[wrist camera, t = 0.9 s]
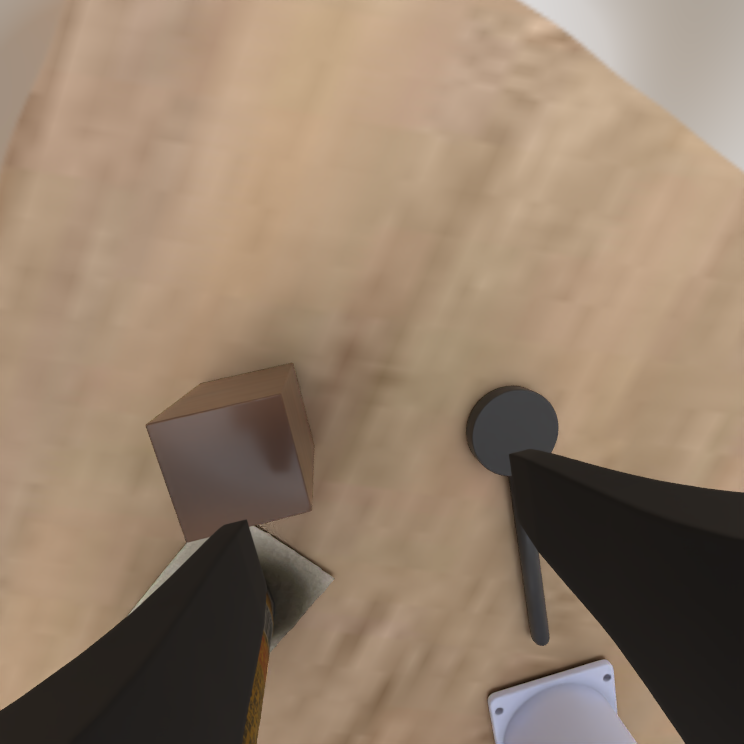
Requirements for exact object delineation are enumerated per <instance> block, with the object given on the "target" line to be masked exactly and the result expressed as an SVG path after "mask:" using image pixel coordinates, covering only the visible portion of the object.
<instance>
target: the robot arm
mask: <svg viewBox="0 0 744 744" xmlns="http://www.w3.org/2000/svg"><path fill="white" fill-rule="evenodd" d="M509 459H510V466H511V474H512V481H513V489H514V496H515V504H516V512H517V519H518V521H519V523H520V524H521V526H522V528H523V529H524V531H525V532H526V534H527V535H528V537H529V539H530V540H531V541H532V543H533V544H534V546H535V547H536V549H537V550H538V552H539V553H540V554H541V555H542V557H543V558H544V559H545V560H546V561H547V563H548V564H549V565H550V566H551V567H552V568H553V570H554V571H555V572H556V573H557V574H558V575H559V577H560V578H561V579H562V580H563V581H564V582H565V584H566V585H567V586H568V587H569V588H570V589H571V591H572V592H573V593H574V594H575V595H576V596H577V598H578V599H579V600H580V601H581V602H582V603H583V604H584V606H585V607H586V608H587V609H588V610H589V611H590V613H591V614H592V615H593V616H594V617H595V618H596V620H597V621H598V622H599V623H600V624H601V626H602V627H603V628H604V629H605V631H606V632H607V633H608V634H609V636H610V637H611V638H612V639H613V641H614V642H615V643H616V645H617V646H618V647H619V649H620V650H621V652H622V653H623V654H624V656H625V657H626V659H627V660H628V661H629V663H630V664H631V666H632V667H633V668H634V670H635V671H636V673H637V674H638V675H639V677H640V678H641V680H642V681H643V682H644V684H645V685H646V687H647V688H648V689H649V691H650V692H651V694H652V695H653V697H654V698H655V700H656V701H657V703H658V704H659V706H660V707H661V708H662V710H663V711H664V713H665V714H666V716H667V717H668V719H669V720H670V722H671V723H672V724H673V726H674V727H675V729H676V730H677V732H678V733H679V735H680V736H681V738H682V739H683V741H684V742H685V744H744V493H742V492H732V491H723V490H715V489H707V488H700V487H694V486H688V485H682V484H676V483H670V482H664V481H659V480H654V479H649V478H645V477H640V476H636V475H632V474H627V473H623V472H619V471H615V470H611V469H607V468H603V467H599V466H596V465H592V464H588V463H585V462H581V461H578V460H574V459H570V458H567V457H563V456H560V455H556V454H552V453H548V452H544V451H540V450H534V449H527V450H523V451H519V452H515V453H511V454H509ZM266 593H267V585H266V581H265V578H264V575H263V571H262V568H261V565H260V561H259V558H258V555H257V551H256V548H255V545H254V541H253V538H252V535H251V531H250V528H249V525H248V521H247V519H246V520H242V521H238V522H233V523H229V524H225V525H223V526H222V527H220V528H219V529H218V530H217V531H216V532H215V533H214V534H213V535H211V536H210V537H209V538H208V539H207V540H206V541H205V542H204V543H203V544H202V545H201V546H200V547H199V548H198V549H197V550H196V551H195V552H194V553H193V554H192V555H191V556H190V557H189V558H188V559H187V560H186V561H185V562H184V563H183V564H182V565H181V566H180V567H179V568H178V569H177V570H176V571H175V572H174V573H173V574H172V575H171V576H170V577H169V578H168V579H167V580H166V581H165V582H164V583H163V584H162V585H161V586H160V587H159V588H158V589H156V590H155V591H154V592H153V593H152V594H151V595H150V596H149V597H148V598H147V599H146V600H145V601H144V602H142V603H141V604H140V605H139V606H138V607H137V608H136V609H135V610H134V611H133V612H132V613H130V614H129V615H128V616H127V617H126V618H125V619H123V620H122V621H121V622H120V623H119V624H118V625H116V626H115V627H114V628H113V629H112V630H110V631H109V632H108V633H107V634H105V635H104V636H103V637H102V638H100V639H99V640H98V641H97V642H95V643H94V644H93V645H92V646H90V647H89V648H88V649H87V650H85V651H84V652H83V653H81V654H80V655H79V656H78V657H76V658H75V659H73V660H72V661H71V662H69V663H68V664H66V665H65V666H64V667H62V668H61V669H60V670H58V671H57V672H55V673H54V674H53V675H51V676H50V677H48V678H47V679H46V680H44V681H43V682H41V683H40V684H39V685H37V686H36V687H34V688H33V689H32V690H30V691H29V692H28V693H26V694H25V695H23V696H22V697H20V698H19V699H17V700H16V701H15V702H13V703H12V704H10V705H8V706H7V707H5V708H4V709H2V710H1V711H0V744H242V742H243V736H244V729H245V724H246V719H247V713H248V708H249V703H250V698H251V693H252V688H253V683H254V678H255V672H256V667H257V662H258V657H259V652H260V646H261V641H262V636H263V630H264V623H265V610H266ZM488 706H489V712H490V717H491V723H492V729H493V734H494V740H495V744H638V743H637V742H636V741H635V739H634V738H633V736H632V735H631V734H630V732H629V731H628V729H627V728H626V726H625V725H624V724H623V722H622V721H621V719H620V718H619V717H618V715H617V704H616V692H615V681H614V670H613V666H612V665H611V663H610V662H609V661H608V660H605V659H602V660H599V661H595V662H592V663H589V664H585V665H582V666H579V667H576V668H572V669H569V670H566V671H563V672H559V673H556V674H553V675H549V676H546V677H543V678H540V679H536V680H533V681H530V682H527V683H523V684H520V685H517V686H514V687H510V688H507V689H504V690H500V691H497V692H494V693H492V694H491V695H490V696H489V697H488Z"/></svg>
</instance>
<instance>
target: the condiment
mask: <svg viewBox="0 0 744 744" xmlns="http://www.w3.org/2000/svg"><path fill="white" fill-rule="evenodd" d="M249 528H250V531H251V535H252V538H253V541H254V545H255V548H256V551H257V555H258V558H259V561H260V565H261V568H262V571H263V575H264V578H265V581H266V585H267V593H266V610H265V623H264V630H263V636H262V641H261V646H260V652H259V657H258V662H257V667H256V672H255V678H254V683H253V688H252V693H251V698H250V703H249V708H248V713H247V719H246V724H245V729H244V736H243V742H242V744H257V737H258V730H259V724H260V719H261V711H262V702H263V697H264V689H265V682H266V675H267V667H268V661H269V655H270V652H271V651H272V650H273V649H274V647H276V646H277V644H278V643H279V641H280V640H281V639H282V638H283V637H284V636H285V635H286V634H287V633H288V632H289V631H290V630H291V629H292V628H293V627H294V626H295V625H296V623H297V622H298V620H299V619H300V618H301V617H302V616H303V615H304V614H305V612H306V611H307V610H308V608H309V607H310V606H311V605H312V604H313V603H314V601H315V600H316V599H317V598H318V597H319V596H320V595H321V594H322V593H323V592H324V591H325V590H326V588H327V587H328V586H329V585H330V584H331V582H332V581H333V580H334V578H333V577H332V576H330V575H329V574H327V573H326V572H324V571H322V569H321V568H319V567H318V566H316V565H315V564H313V563H312V562H310V561H309V560H307V559H306V558H304V557H302V556H301V555H299V554H298V553H297V552H296V551H294V550H292V549H291V548H289V547H287V546H286V545H284V544H283V543H281V542H279V541H278V540H276V539H275V538H273V537H272V536H271V534H269V533H266V532H264V531H262V530H260V529H258V528H256V527H255V526H251V527H249ZM208 538H209V537H208ZM208 538H204V539H200V540H196V541H193V542H189V543H186V544H185V545H184V547H183V548H182V549H181V550H180V552H179V553H178V554H177V555H176V556H175V558H174V559H173V560H172V561H171V563H170V564H169V565H168V566H167V567H166V569H165V570H164V571H163V572H162V574H161V575H160V576H159V577H158V579H157V580H156V581H155V582H154V584H153V585H152V586H151V587H150V588H149V590H148V591H147V592H146V593H145V595H144V596H143V597H142V598H141V600H140V601H139V602H138V603H137V605H136V606H135V607H134V608H133V610H132V611H131V612H130V613H132V612H133V611H134V610H135V609H136V608H137V607H138V606H139V605H140V604H141V603H142V602H144V601H145V600H146V599H147V598H148V597H149V596H150V595H151V594H152V593H153V592H154V591H155V590H156V589H158V588H159V587H160V586H161V585H162V584H163V583H164V582H165V581H166V580H167V579H168V578H169V577H170V576H171V575H172V574H173V573H174V572H175V571H176V570H177V569H178V568H179V567H180V566H181V565H182V564H183V563H184V562H185V561H186V560H187V559H188V558H189V557H190V556H191V555H192V554H193V553H194V552H195V551H196V550H197V549H198V548H199V547H200V546H201V545H202V544H203V543H204V542H205V541H206V540H207V539H208ZM130 613H129V614H130Z"/></svg>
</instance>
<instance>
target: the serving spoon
mask: <svg viewBox="0 0 744 744" xmlns="http://www.w3.org/2000/svg"><path fill="white" fill-rule="evenodd" d="M466 436H467V442H468V445H469V448H470V450H471V452H472V453H473V455H474V456H475V457H476V458H477V459H478V461H479V462H480V463H481V464H482V465H483V466H484V467H486V468H487V469H488V470H490V471H492V472H494V473H496V474H499V475H504V476H509V483H510V490H511V497H512V504H513V511H514V518H515V525H516V532H517V539H518V546H519V553H520V560H521V567H522V575H523V582H524V589H525V596H526V603H527V610H528V617H529V624H530V631H531V637H532V639H533V641H534V642H535V643H536V644H538V645H540V646H544V645H546V644H547V643H548V642H549V629H548V621H547V614H546V606H545V598H544V591H543V583H542V575H541V567H540V560H539V552H538V550H537V549H536V547H535V546H534V544H533V543H532V541H531V540H530V539H529V537H528V535H527V534H526V532H525V531H524V529H523V528H522V526H521V524H520V523H519V521H518V519H517V512H516V504H515V496H514V489H513V481H512V474H511V466H510V459H509V454H511V453H515V452H519V451H523V450H527V449H534V450H540V451H544V452H548V453H551V452H552V450H553V448H554V446H555V443H556V441H557V436H558V419H557V416H556V413H555V411H554V409H553V407H552V405H551V404H550V403H549V402H548V401H547V399H545V398H544V397H543V396H541V395H540V394H538V393H536V392H534V391H531V390H529V389H527V388H524V387H520V386H506V387H501V388H498V389H495V390H493V391H491V392H490V393H488V394H486V395H485V396H484V397H483V398H482V399H481V400H480V401H479V402H478V403H477V404H476V405H475V407H474V408H473V410H472V412H471V414H470V416H469V419H468V422H467V428H466Z"/></svg>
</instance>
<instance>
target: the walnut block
mask: <svg viewBox="0 0 744 744" xmlns="http://www.w3.org/2000/svg"><path fill="white" fill-rule="evenodd" d="M146 428H147V431H148V434H149V437H150V440H151V442H152V445H153V448H154V451H155V454H156V457H157V460H158V463H159V465H160V468H161V471H162V474H163V477H164V480H165V483H166V485H167V488H168V491H169V494H170V497H171V500H172V503H173V506H174V508H175V511H176V514H177V517H178V520H179V523H180V526H181V528H182V531H183V534H184V537H185V540H186V542H187V543H189V542H193V541H196V540H200V539H204V538H208V537H210V536H211V535H213V534H214V533H215V532H216V531H217V530H218V529H219V528H220V527H222V526H223V525H225V524H229V523H233V522H238V521H242V520H246V519H247V521H248V525H249V527H251V526H255V525H259V524H263V523H267V522H271V521H275V520H279V519H282V518H286V517H290V516H294V515H298V514H302V513H306V512H310V511H312V497H313V471H314V443H313V439H312V435H311V431H310V427H309V423H308V420H307V416H306V412H305V408H304V404H303V400H302V396H301V392H300V388H299V384H298V380H297V376H296V372H295V368H294V364H293V363H289V364H285V365H281V366H276V367H272V368H267V369H263V370H258V371H254V372H249V373H245V374H240V375H236V376H231V377H227V378H222V379H218V380H214V381H209V382H205V383H201V384H199V385H198V386H196V387H195V388H194V389H193V390H191V391H190V392H189V393H187V394H186V395H185V396H183V397H182V398H181V399H179V400H178V401H177V402H175V403H174V404H173V405H171V406H170V407H169V408H167V409H166V410H165V411H163V412H162V413H161V414H159V415H158V416H157V417H155V418H154V419H153V420H151V421H150V422H149V423H147V424H146Z"/></svg>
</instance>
